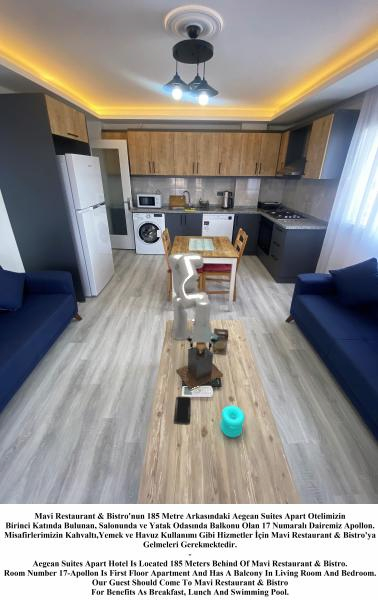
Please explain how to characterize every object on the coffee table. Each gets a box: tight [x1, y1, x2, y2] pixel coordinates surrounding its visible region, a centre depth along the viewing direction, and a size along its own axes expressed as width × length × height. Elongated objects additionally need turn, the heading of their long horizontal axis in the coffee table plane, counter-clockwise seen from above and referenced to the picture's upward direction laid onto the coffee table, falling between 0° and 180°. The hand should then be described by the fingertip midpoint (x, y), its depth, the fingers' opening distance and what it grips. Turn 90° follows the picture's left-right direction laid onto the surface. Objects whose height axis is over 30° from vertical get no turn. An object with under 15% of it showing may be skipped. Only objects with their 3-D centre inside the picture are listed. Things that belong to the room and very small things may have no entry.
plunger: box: [195, 342, 207, 354], centre depth 136 cm, size 8×8×21 cm
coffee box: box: [211, 328, 229, 356], centre depth 156 cm, size 9×6×16 cm
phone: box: [173, 396, 192, 425], centre depth 119 cm, size 8×1×15 cm
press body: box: [175, 346, 224, 390], centre depth 137 cm, size 16×22×16 cm
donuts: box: [219, 405, 246, 438], centre depth 109 cm, size 10×10×10 cm
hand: (200, 348), depth 133 cm, fingers open, 9 cm apart
